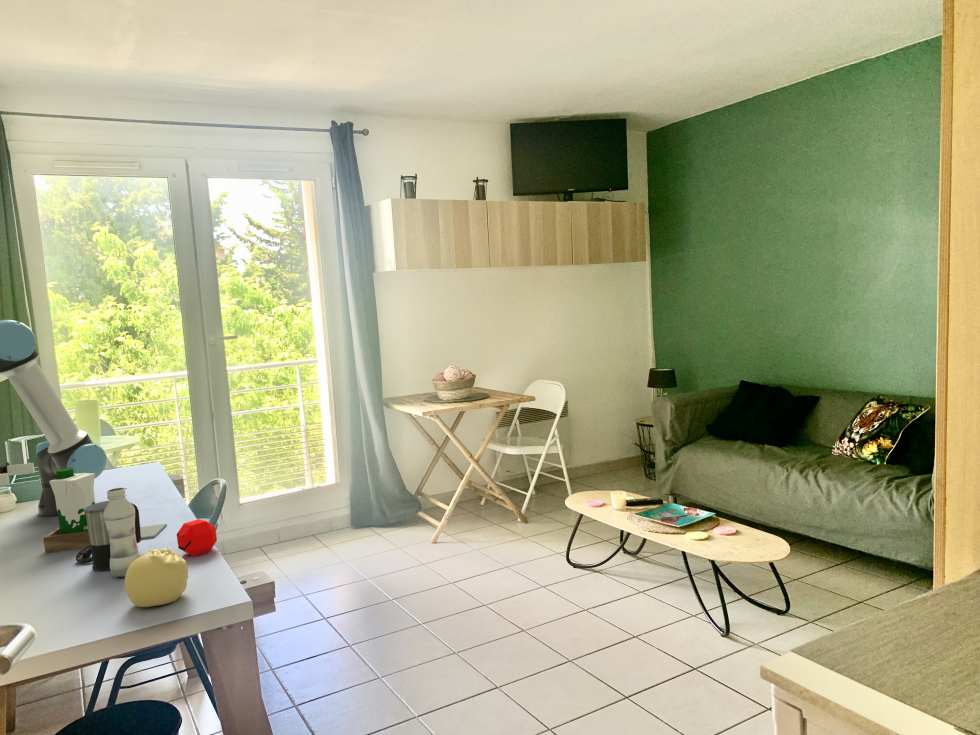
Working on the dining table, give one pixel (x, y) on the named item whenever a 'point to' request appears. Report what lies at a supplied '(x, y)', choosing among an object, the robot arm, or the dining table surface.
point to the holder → (65, 541)
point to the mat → (151, 531)
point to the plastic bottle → (120, 531)
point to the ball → (196, 537)
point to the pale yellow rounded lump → (156, 578)
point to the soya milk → (73, 499)
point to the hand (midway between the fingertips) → (21, 473)
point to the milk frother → (100, 537)
